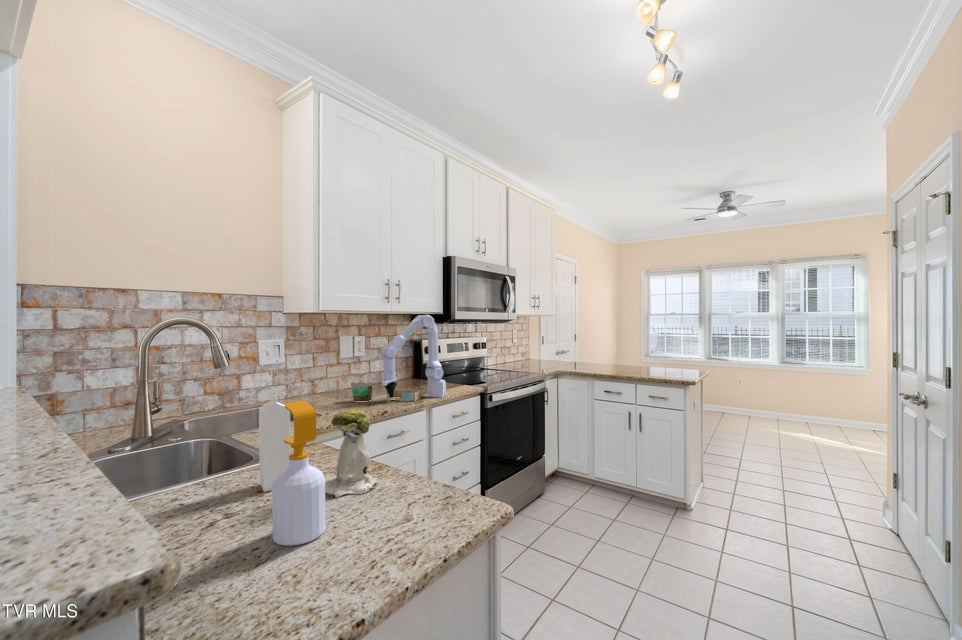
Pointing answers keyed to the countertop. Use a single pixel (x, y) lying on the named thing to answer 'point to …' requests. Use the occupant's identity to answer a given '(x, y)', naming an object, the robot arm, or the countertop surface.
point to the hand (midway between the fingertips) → (391, 397)
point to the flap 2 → (406, 396)
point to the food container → (362, 391)
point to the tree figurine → (351, 455)
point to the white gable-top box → (273, 442)
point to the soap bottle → (299, 486)
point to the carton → (415, 393)
